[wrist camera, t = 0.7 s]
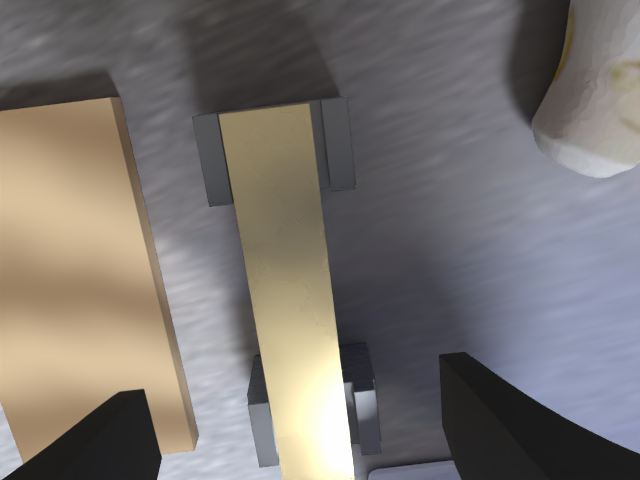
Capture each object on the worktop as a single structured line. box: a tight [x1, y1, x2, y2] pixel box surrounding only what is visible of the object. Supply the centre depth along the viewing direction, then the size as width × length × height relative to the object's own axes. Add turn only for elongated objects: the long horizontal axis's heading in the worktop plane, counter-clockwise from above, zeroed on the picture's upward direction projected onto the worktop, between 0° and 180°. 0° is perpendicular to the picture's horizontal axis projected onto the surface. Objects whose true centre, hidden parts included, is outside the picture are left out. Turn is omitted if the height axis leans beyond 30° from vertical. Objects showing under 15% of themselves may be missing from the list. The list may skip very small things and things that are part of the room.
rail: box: [219, 102, 355, 480], centre depth 17 cm, size 14×3×3 cm, turn 7°
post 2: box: [247, 343, 381, 467], centre depth 21 cm, size 3×5×4 cm, turn 97°
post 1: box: [192, 96, 356, 207], centre depth 18 cm, size 3×5×4 cm, turn 97°
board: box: [0, 97, 199, 464], centre depth 21 cm, size 16×8×1 cm, turn 7°
